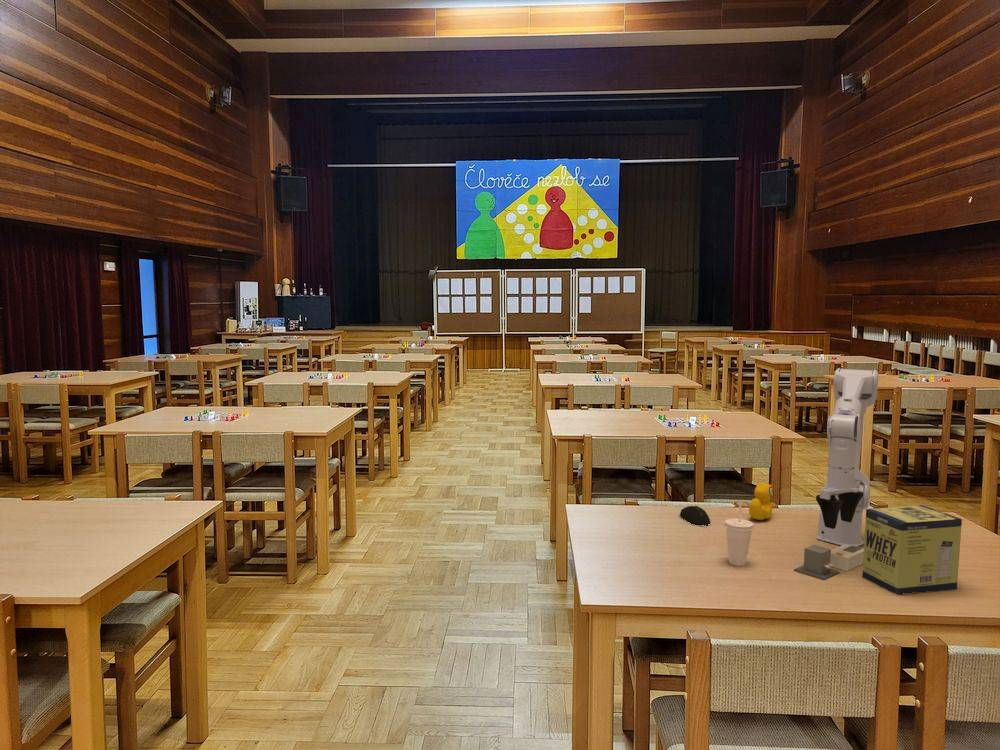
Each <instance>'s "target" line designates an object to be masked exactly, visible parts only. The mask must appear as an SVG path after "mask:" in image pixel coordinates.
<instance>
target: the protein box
mask: <svg viewBox="0 0 1000 750" xmlns="http://www.w3.org/2000/svg"><path fill="white" fill-rule="evenodd" d="M864 523H865V525H864V526H865V527H864V538H863V540H864V544H863V549H864V557H863V564H862V575H861V576H862V578H864V579H867V581H870V582H872V583H873V584H876V585H878V586H879V587H880V588H881V587H882V588H883V587H884V588H883V589H885V588H886V589H885V590H887V589H888V590H887V591H889V590H890V591H889V592H891V591H892V592H891V593H893V592H894V593H893V594H895V593H896V594H901V595H904V594H903V593H912V592H922V593H927V592H926V591H932V592H940V591H939V590H942V591H950V590H951V589H952V590H957V589H958V580H959V566H960V553H961V537H962V527H963V526H962V525H963V519H962V518H959V517H957V516H955V515H952V514H948V513H946V512H943V511H940V510H938V509H934V508H932V507H929V506H926V505H921V504H920V505H908V506H907V505H906V506H897V507H896V506H895V507H883V508H882V507H881V508H866V509H865V522H864ZM896 594H895V595H896ZM912 594H913V593H912Z"/></svg>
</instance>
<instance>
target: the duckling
mask: <svg viewBox="0 0 1000 750" xmlns="http://www.w3.org/2000/svg"><path fill="white" fill-rule="evenodd" d="M773 491H774V487H773V484H769V483H767V482H759V483H758V484H757V485H756V486H755V488H754V492H753V493H754V497H755V498H753V499H752V500H750V503H749V506H748V507H749V509H748V514H749V516H750V517H751V518H752V519H754V520H757V521H763V520H766V519H768V518H770V517H771V516H772V514H773V513H772V512H773V503H772V502H771V499H772V498H773V494H774V492H773Z"/></svg>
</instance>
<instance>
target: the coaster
mask: <svg viewBox="0 0 1000 750" xmlns="http://www.w3.org/2000/svg"><path fill="white" fill-rule="evenodd" d="M793 572H796V573H800V574H803V575H806V576H809V577H811V578H815V579H818V580H821V581H825V580H828V579H829V578H832V577H834V576H836V575H838V574H840V573H841V572H840V571H838V570H836V569H831V568H830V571H829V572H827V573H825V574H823V575H818V574H815V573H812V572H809V571H805V570H804V564H803V565H800V566H798V567H796V568H794V569H793Z"/></svg>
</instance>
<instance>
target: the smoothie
mask: <svg viewBox="0 0 1000 750" xmlns="http://www.w3.org/2000/svg"><path fill="white" fill-rule="evenodd" d="M742 505H743V503H741V502H740V503H738V518H727V519H726V520H724V527H725V528H726V529H725V530H726V542H727V543H726V544H727V551H728V552H727V554H728V563H729V565H732V566H735V567H745V566H747V565H746V564H747V559H748V554H749V548H750V542H751V539H752V538H751V537H752V531H753V530H754V525H755V524H754V522H752V521H750V520H747V519H744V518H743V519H742V510H743V507H742Z"/></svg>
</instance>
